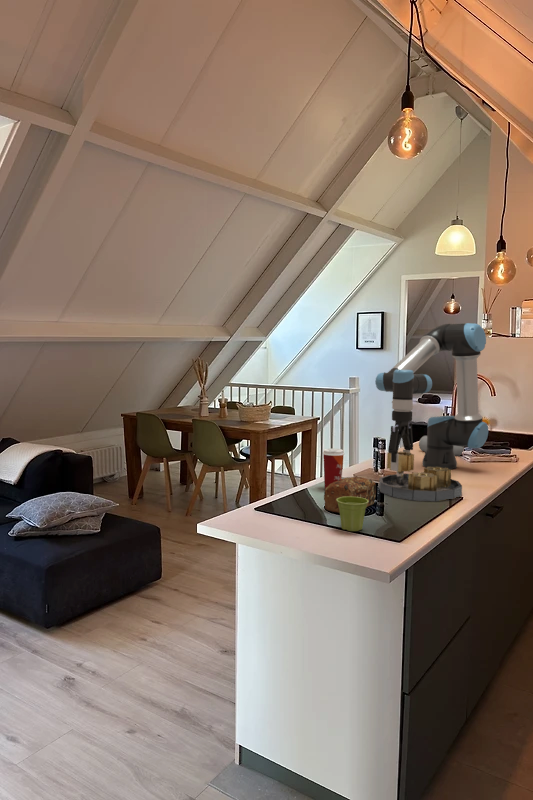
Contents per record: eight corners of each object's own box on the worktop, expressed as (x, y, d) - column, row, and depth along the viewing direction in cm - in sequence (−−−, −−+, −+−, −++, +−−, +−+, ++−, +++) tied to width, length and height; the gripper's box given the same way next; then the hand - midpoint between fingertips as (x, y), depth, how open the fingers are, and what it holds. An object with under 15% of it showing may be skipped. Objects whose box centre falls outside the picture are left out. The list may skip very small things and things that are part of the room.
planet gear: (417, 468, 235) (417, 453, 235) (406, 472, 228) (407, 456, 227) (394, 465, 241) (394, 450, 240) (383, 469, 233) (383, 453, 233)
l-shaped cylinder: (423, 454, 304) (464, 455, 302) (423, 433, 305) (464, 434, 303) (417, 456, 321) (456, 457, 319) (417, 436, 323) (456, 437, 321)
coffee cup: (342, 492, 227) (343, 452, 226) (320, 490, 229) (321, 451, 228) (344, 487, 235) (345, 448, 234) (323, 485, 237) (323, 447, 236)
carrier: (400, 479, 251) (400, 461, 250) (471, 490, 233) (472, 470, 232) (365, 492, 227) (366, 472, 227) (442, 505, 210) (443, 484, 209)
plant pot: (333, 524, 186) (333, 496, 185) (363, 523, 187) (364, 495, 186) (339, 533, 177) (339, 504, 176) (371, 533, 178) (372, 503, 177)
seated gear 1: (415, 486, 229) (415, 470, 228) (439, 490, 223) (440, 474, 222) (404, 491, 221) (404, 475, 221) (429, 495, 215) (430, 478, 215)
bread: (350, 516, 196) (351, 485, 195) (321, 510, 202) (322, 480, 201) (377, 504, 211) (377, 476, 210) (349, 499, 217) (350, 471, 216)
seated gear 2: (430, 480, 240) (430, 465, 239) (453, 484, 234) (454, 468, 233) (419, 484, 232) (420, 469, 232) (444, 488, 226) (445, 472, 226)
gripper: (405, 407, 243) (403, 463, 245) (379, 411, 226) (378, 471, 228) (423, 408, 239) (421, 465, 241) (398, 413, 221) (396, 474, 223)
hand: (400, 468), depth 234 cm, fingers closed on planet gear, 10 cm apart
